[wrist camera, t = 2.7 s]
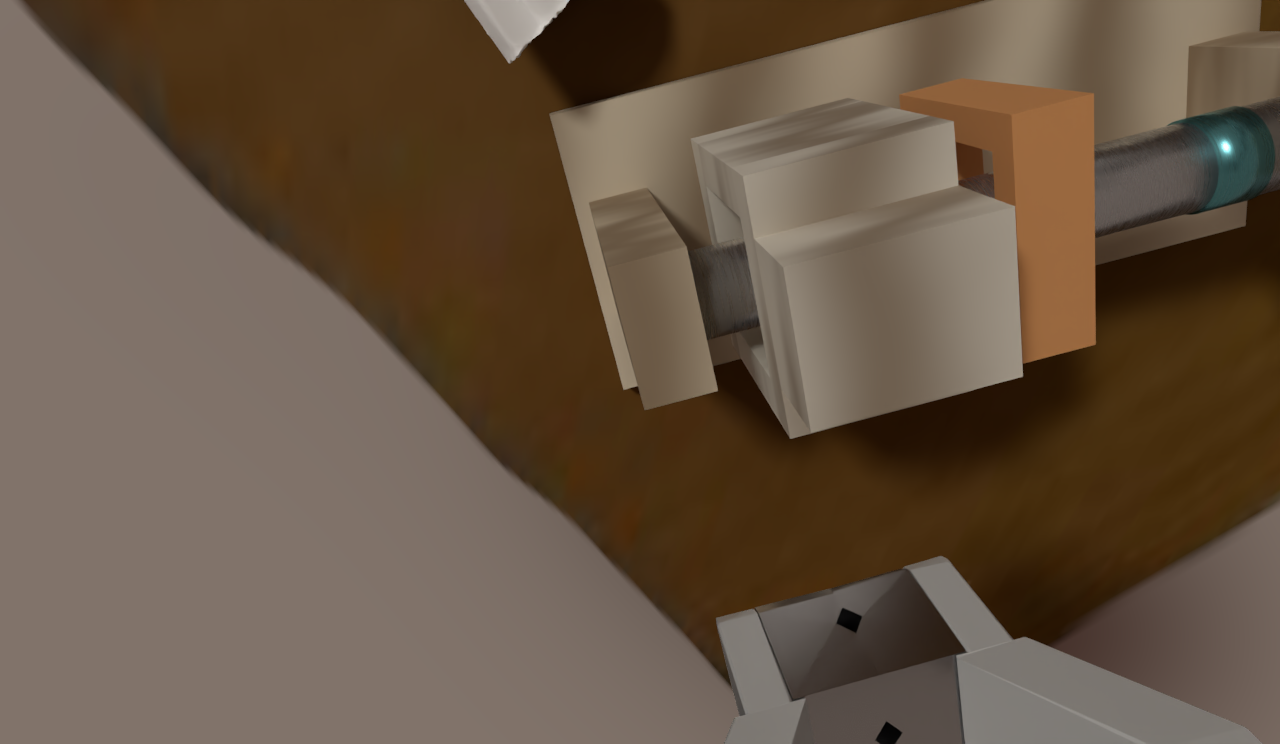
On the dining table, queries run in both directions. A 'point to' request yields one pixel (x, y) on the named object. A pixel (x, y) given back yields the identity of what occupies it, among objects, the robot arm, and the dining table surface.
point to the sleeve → (863, 262)
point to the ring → (1033, 194)
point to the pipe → (1124, 194)
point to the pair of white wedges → (515, 21)
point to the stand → (877, 73)
